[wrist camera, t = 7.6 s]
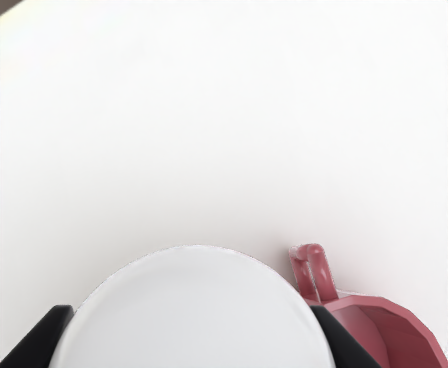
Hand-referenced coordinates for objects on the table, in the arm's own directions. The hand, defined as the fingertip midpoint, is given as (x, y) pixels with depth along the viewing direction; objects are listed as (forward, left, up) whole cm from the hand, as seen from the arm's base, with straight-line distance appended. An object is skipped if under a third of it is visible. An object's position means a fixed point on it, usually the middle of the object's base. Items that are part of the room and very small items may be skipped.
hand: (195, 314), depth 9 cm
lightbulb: (-1, -1, -7) cm, 7 cm away
